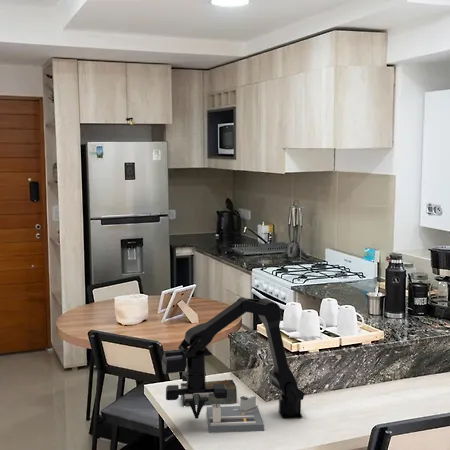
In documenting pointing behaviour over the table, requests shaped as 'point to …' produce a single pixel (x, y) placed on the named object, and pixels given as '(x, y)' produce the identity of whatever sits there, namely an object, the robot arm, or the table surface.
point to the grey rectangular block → (247, 402)
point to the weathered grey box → (212, 399)
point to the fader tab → (216, 413)
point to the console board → (236, 420)
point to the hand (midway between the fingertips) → (196, 418)
